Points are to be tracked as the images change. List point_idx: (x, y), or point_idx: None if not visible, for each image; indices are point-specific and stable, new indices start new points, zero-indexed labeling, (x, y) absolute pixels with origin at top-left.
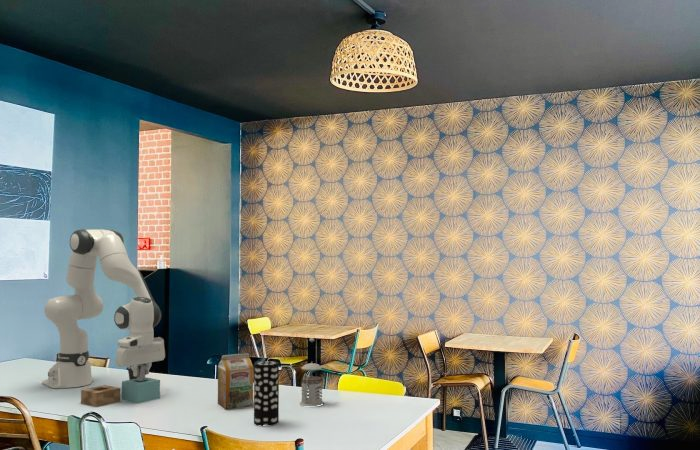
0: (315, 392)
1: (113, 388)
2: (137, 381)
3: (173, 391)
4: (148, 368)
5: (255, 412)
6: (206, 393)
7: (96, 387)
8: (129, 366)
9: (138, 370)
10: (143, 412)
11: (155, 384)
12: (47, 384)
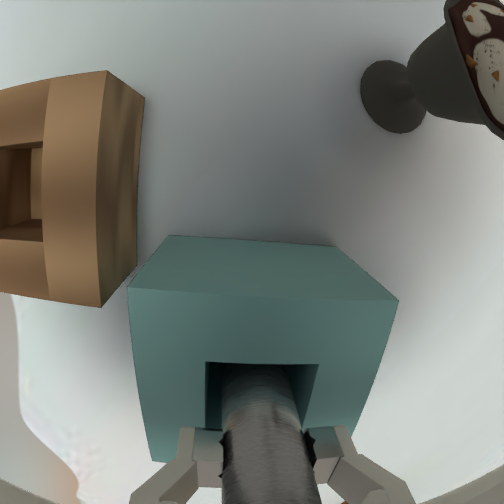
0: None
1: (63, 265)
2: (223, 397)
3: (478, 276)
4: (339, 493)
5: None
6: (462, 400)
7: (20, 109)
8: (490, 10)
9: (222, 488)
10: (131, 443)
11: None
12: None
